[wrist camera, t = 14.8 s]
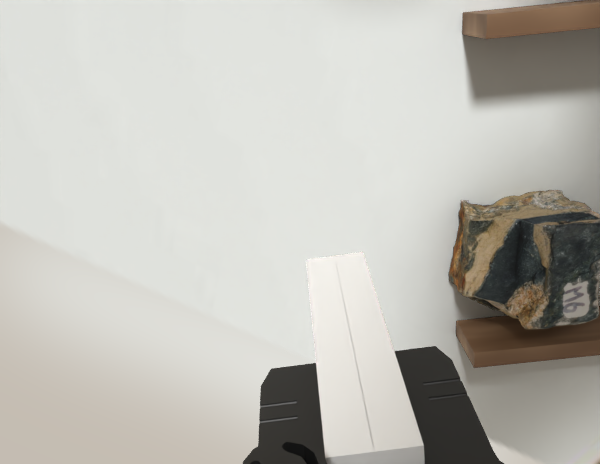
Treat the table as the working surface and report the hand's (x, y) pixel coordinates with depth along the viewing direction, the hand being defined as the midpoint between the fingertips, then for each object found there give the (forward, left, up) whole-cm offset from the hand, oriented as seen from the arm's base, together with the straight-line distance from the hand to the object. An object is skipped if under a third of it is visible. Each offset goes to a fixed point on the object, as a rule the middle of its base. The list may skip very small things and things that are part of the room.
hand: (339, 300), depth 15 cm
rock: (+10, +14, -22) cm, 28 cm away
